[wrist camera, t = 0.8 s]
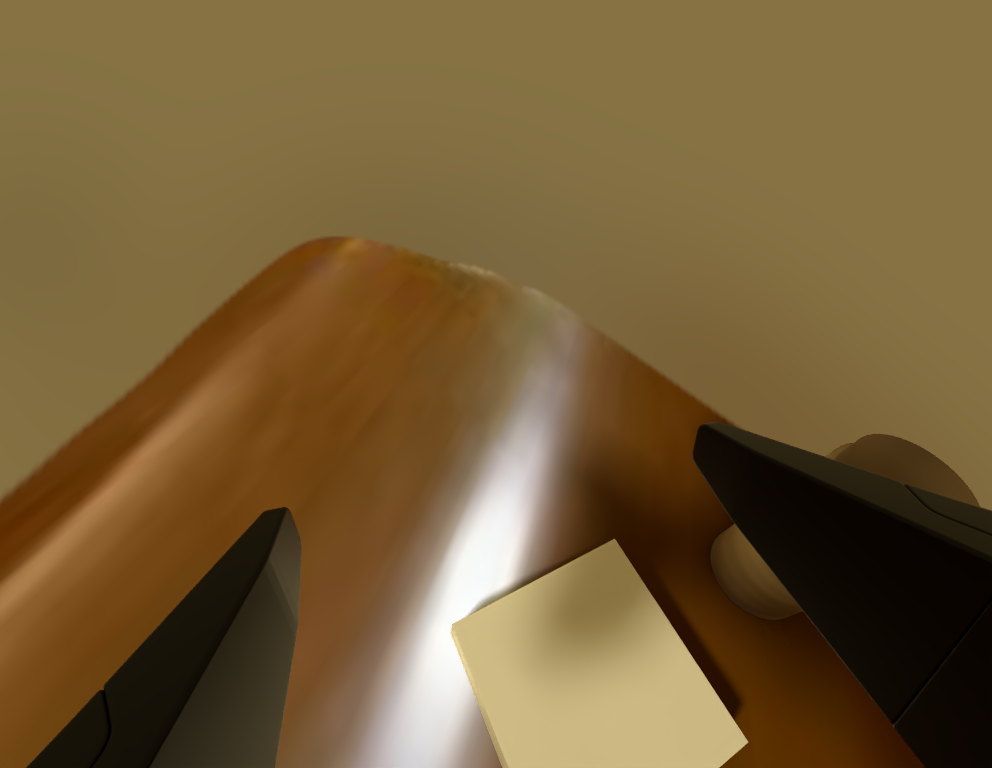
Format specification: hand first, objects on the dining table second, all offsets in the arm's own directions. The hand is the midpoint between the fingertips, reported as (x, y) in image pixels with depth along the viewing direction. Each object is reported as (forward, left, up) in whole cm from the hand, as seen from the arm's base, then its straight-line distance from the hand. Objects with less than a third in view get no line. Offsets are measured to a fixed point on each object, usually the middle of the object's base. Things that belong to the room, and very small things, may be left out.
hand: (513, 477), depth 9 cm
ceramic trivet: (-5, -2, -15) cm, 16 cm away
